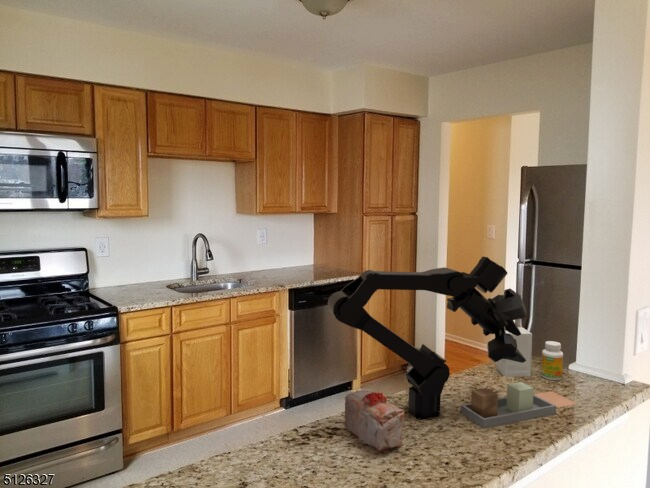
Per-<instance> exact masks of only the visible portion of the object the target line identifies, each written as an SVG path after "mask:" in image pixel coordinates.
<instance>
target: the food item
mask: <svg viewBox="0 0 650 488" xmlns="http://www.w3.org/2000/svg"><path fill="white" fill-rule="evenodd" d="M383 394H384V393H383V392H379V391H378V392H375V391H371V392H370V390H369V391H368V390H367V389H366V390H361V389H360V390H356V391H353V392H350V393H349V394H347V395H346V396H345V397H344V401H345V402H344V429H345V430H348V431H349V432H351V433H352V434H353V435H355V436H357V438H358V442H359V443H361V444H367V445H368V446H370V447H373V448H376V449H377V451H378V452H380V451H386V450H391V449H395V448H397V447H400V446H402V445H403V433H404V427H405V425H404V423H405V422H404V421H405V409H402V408H400V407H398V406H396V405H394V404H391V403H390V402H388V399H387V396H385V395H383Z"/></svg>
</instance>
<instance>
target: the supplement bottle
mask: <svg viewBox="0 0 650 488" xmlns="http://www.w3.org/2000/svg"><path fill="white" fill-rule="evenodd" d="M561 350H562V344H561V343H560V342H558V341H556V340H555V341H553V340H547V341H545V342H544V349H542V351H541V368H540V369H541V370H540V375H541V377H542V378H543V379H545V380H550V381H561V380H562V379H563V369H564V368H563V366H564V353H563V351H561Z"/></svg>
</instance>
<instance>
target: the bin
mask: <svg viewBox="0 0 650 488" xmlns="http://www.w3.org/2000/svg"><path fill="white" fill-rule="evenodd" d="M506 408H507V396H504V397H498V407H497V416H493V417H488V418H483V417H482V416H480V415H478V414H477V413H475V412H474V411H472V410H471V402H469V403H464V404H463V403H462V404H460V414H461V415H462V416H464V417H465V418H467V419H469V420H470V421H472V422H474V424H475V425H477V426H479V427H481V428H482V429H488V428H492V427H498V426H502V425H509V424H513V423H518V422H523V421H527V420H533V419H538V418H543V417H548V416H553V415H556V414H557V408H556V405H554V404H552V403H550V402H548V401H546V400H544V399H542V398H540V397H538V396H536V395H534V393H533V409H530V410H525V411H520V412H514V413H512V412H511V411H509V410H507V409H506Z"/></svg>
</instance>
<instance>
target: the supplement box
mask: <svg viewBox="0 0 650 488" xmlns="http://www.w3.org/2000/svg"><path fill="white" fill-rule="evenodd" d="M517 327H518V329H519V330H520V332H521V335H519V336H516V335H514V334H512V333H510V332H508V331H506V333H508V334H511V335H512V336H513V338H514V339H516V342H517V349H518V350H519V351H520V353H521V354H522V355H523V356H524V358H525V359H526V361H525V362H523V363H521V362H516V361H512V360H507V359H501V360H499V361H497V362H496V370H497V371H498V372H499V373H500V374H501V375H502V376H504V377H531V376H532V375H531V374H532V355H533V354H532V352H533V350H532V349H533V333H532V332H530V331H529V330H527V329H525V327H522V326H521V327H520V326H517Z"/></svg>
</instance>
